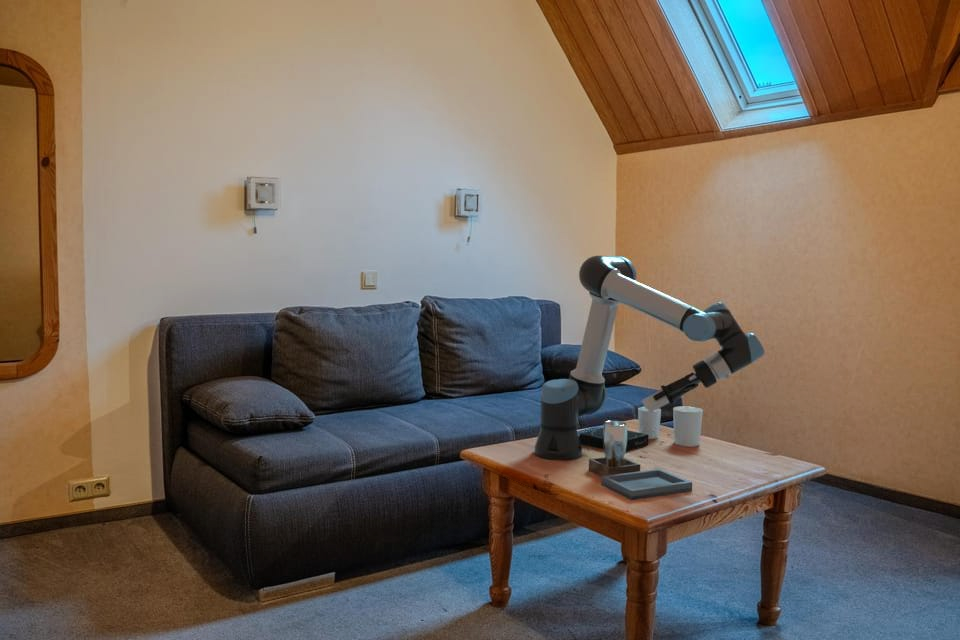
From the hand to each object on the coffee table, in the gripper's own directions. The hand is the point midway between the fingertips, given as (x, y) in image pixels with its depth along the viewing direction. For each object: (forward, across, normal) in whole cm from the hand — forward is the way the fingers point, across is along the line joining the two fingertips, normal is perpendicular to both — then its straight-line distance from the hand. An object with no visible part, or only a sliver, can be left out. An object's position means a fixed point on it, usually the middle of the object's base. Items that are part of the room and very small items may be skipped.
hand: (645, 407), depth 217 cm
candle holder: (-4, +45, -12) cm, 47 cm away
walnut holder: (+18, +2, -12) cm, 22 cm away
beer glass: (+18, +2, -12) cm, 22 cm away
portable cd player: (+17, +36, -2) cm, 40 cm away
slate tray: (+11, -8, -20) cm, 24 cm away
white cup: (+6, +50, -4) cm, 51 cm away
